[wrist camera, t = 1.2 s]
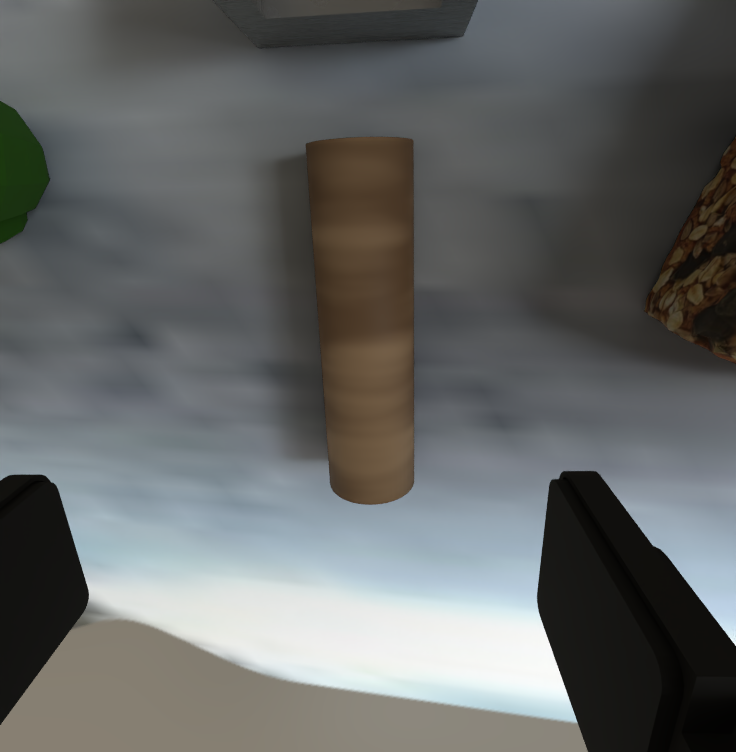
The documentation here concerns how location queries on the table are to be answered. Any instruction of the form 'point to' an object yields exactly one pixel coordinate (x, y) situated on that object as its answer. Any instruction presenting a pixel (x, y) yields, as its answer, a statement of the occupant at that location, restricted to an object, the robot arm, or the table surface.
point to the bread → (703, 269)
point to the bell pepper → (18, 172)
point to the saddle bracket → (346, 20)
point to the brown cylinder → (365, 310)
